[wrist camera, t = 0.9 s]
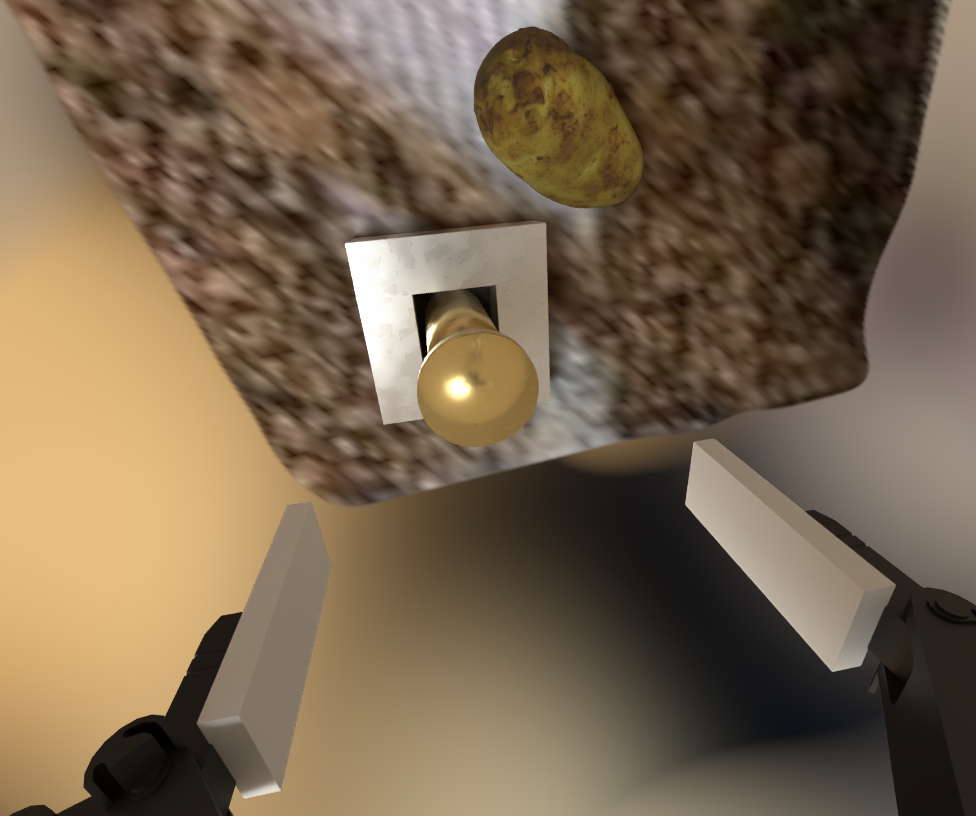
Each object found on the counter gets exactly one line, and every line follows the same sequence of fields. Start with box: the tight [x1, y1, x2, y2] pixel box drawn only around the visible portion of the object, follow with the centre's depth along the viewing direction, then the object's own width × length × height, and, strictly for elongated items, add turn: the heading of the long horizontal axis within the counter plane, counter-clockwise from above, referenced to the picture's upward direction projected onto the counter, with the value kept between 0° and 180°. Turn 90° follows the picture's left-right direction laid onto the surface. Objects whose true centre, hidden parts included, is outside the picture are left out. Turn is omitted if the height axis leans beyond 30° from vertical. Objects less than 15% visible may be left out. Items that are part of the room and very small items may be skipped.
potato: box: [474, 27, 644, 208], centre depth 29 cm, size 8×13×8 cm, turn 41°
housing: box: [345, 220, 550, 424], centre depth 36 cm, size 14×14×4 cm
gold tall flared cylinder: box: [417, 289, 539, 447], centre depth 30 cm, size 6×6×16 cm
